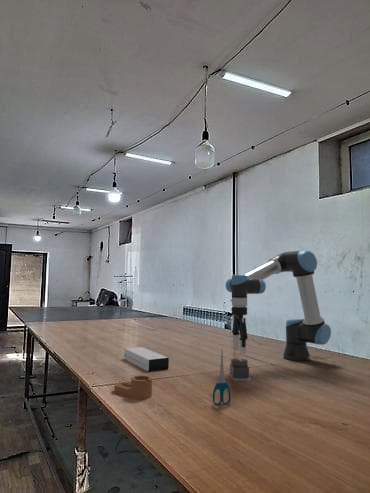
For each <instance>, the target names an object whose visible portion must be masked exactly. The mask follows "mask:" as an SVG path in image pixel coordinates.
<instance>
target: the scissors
mask: <svg viewBox="0 0 370 493" xmlns="http://www.w3.org/2000/svg"><path fill="white" fill-rule="evenodd" d="M220 353H221V354H220V365H219V366H220V367H219V369H220V370H219V377H218V381H217V382H216V383H215V386H214V388H213V392H212V403H213V404H214V405H215V406H219V405H221V404H224V405H229V404H230V403H231V398H232V397H231V396H232V395H231V390H230V386H229V384H228V382H227V381H226V379H225V373H224V372H225V371H224V356H223V355H224V352H223V350H221V352H220ZM217 390H219V401H218V402H216V400H215V398H216V392H217ZM225 390H227V391H228V399H227V401H225V400H224V393H225Z"/></svg>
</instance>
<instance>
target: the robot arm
mask: <svg viewBox="0 0 370 493" xmlns="http://www.w3.org/2000/svg"><path fill="white" fill-rule="evenodd" d="M317 266H318V260H317V257H316V255H315V253H313V252H312V251H311V250H293V251H284V252H282V253H280V254H277V255H276V256H275V255H274V257H271V258H269V259H268V261H267V262H266V263H264V264H261V265H259V266H258V267H255V268H253V269H252V270H249V271H248V272H245V273H244V274H232V276H231V278H229V279H227V281H226V282H225V289H226V290H227V291H228V292H229V293H231V298H230V302H231V306H232V307H231V315H233V316H232V317H233V320H232V321H233V322H232V330H231V333H232V337H233V338H232V343H233V344H232V346H233V347H232V349H234V350H235V349H237V350H239V353H240V355H247V340H248V339H249V337H248V332H247V330H248V329H247V324H246V323H247V321H246V317H244V316H247V315H248V307H247V306H248V294H249V295H255V294H256V295H260V294H263V293H265V291H266V288H267V287H266V286H267V285H266V282H265V281H264V280H266V279H267V278H269V277H271V276H273V275H278V274H280V273H287V272H292V276H293V277H294V278H295V279H296V282H297V288H298V291H299V296H300V301H301V302H300V303H301V306H302V310H303V316H304V318H298V319H297V318H296V319H288V320H286V323H285V338H286V339H285V342H286V343H285V344H286V345H285V347H284V351H283V354H282V356H283V359H285V360H289V361H296V362H297V361H299V362H307V361H309V360H311V355H310V353H309V352H310V351H309V349H308V346H307V344H308V343H309V344H314V345H321V346H322V345H323V346H324V345H326V344H327V343H328V342H329V341H330V339H331V333H332V330H331V327H330V325H329V324H327V323H325V319H324V317H322V316H321V312H320V307H319V301H318V297H317V293H316V287H315V283H314V278H313V276H314V274H315V271H316V269H317V268H318V267H317Z"/></svg>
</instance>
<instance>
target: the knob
mask: <svg viewBox="0 0 370 493" xmlns="http://www.w3.org/2000/svg"><path fill="white" fill-rule="evenodd" d="M229 372H230V374H231V375H232V376H233V377H250V366H248V359H246V358H241V357H239V356H238V357H236V358H231V360H230V363H229Z"/></svg>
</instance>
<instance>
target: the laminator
mask: <svg viewBox="0 0 370 493" xmlns="http://www.w3.org/2000/svg"><path fill="white" fill-rule="evenodd" d="M123 358H124V360H125V361H127V362H128V363H131V364H132V365H135V366H136V367H138V368H140V369H142V370H144V371H146V372H155V371H163V370H169V365H170V364H169V363H170V359H169V357H168V356H165V355H163V354H160V353H158V352H155V351H153V350H150V349H147V348H146V347H142V346H137V347H125V348H124V356H123Z"/></svg>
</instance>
